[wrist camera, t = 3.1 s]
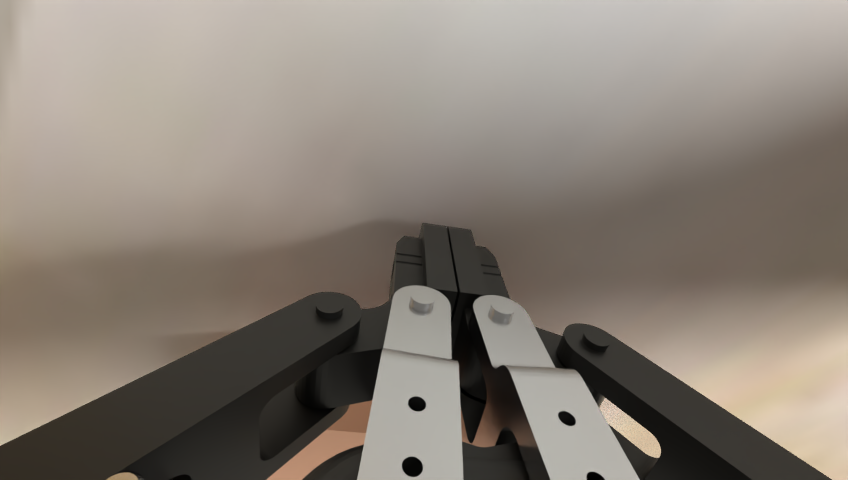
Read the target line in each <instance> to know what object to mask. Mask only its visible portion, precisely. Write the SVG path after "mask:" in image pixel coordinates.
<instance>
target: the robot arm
mask: <svg viewBox="0 0 848 480" xmlns="http://www.w3.org/2000/svg"><path fill="white" fill-rule="evenodd" d="M604 398H607V399H608V400H609V401H610V402H612V403H613V404H614V405H616V406H617V407H618V408H620V409H621V410H622V411H624V412H625V413H626V414H627V415H629V416H630V417H631V418H633V419H634V420H635V421H637V422H638V423H639V424H640V425H642V426H643V427H644V428H646V429H647V430H648V431H650V432H651V433H652V434H653V435H654V436H655V437H656V439H657V440H658V442H659V444H660V447H661V456H660V458H654V457H651V456H648V455H647V454H645V453H644V452H642V451H641V450H640V449H639V448H637V447H636V446H635V445H634V444H632V443H631V442H630V441H629V440H628V439H626V438H625V437H624V436H623V435H621V434H620V433H619V432H618V431H616V430H615V429H614V428H613V427H611V426H610V425H609V424H608V423H607V421H606V419H605V417H604V416H603V414H602V412H601V410H600V409H599V407H600V405H601V403H602V401H603V400H604ZM367 401H372V405H371V410H370V416H369V421H368V426H367V431H366V436H365V441H364V445H360V446H357V447H353V448H350V449H348V450H345V451H343V452H341V453H338V454H336V455H335V456H333V457H331V458H329V459H328V460H326V461H324V462H323V463H321V464H320V465H319V466H317V467H316V468H315V469H313V470H312V471H311V472H310V473H309V474H308V475H306V476H305V477H304V478H303V479H302V480H832V479H830V478H829V477H827V476H826V475H824V474H822V473H821V472H819V471H818V470H816V469H815V468H813V467H812V466H810V465H809V464H807V463H806V462H804V461H803V460H801V459H800V458H798V457H797V456H795V455H793V454H792V453H790V452H789V451H787V450H786V449H784V448H783V447H781V446H780V445H778V444H777V443H775V442H774V441H772V440H771V439H769V438H768V437H766V436H764V435H763V434H761V433H760V432H758V431H757V430H755V429H754V428H752V427H751V426H749V425H748V424H746V423H745V422H743V421H742V420H740V419H738V418H737V417H735V416H734V415H732V414H731V413H729V412H728V411H726V410H725V409H723V408H722V407H720V406H719V405H717V404H716V403H714V402H713V401H711V400H709V399H708V398H706V397H705V396H703V395H702V394H700V393H699V392H697V391H696V390H694V389H693V388H691V387H690V386H688V385H687V384H685V383H684V382H682V381H680V380H679V379H677V378H676V377H674V376H673V375H671V374H670V373H668V372H667V371H665V370H664V369H662V368H661V367H659V366H658V365H656V364H654V363H653V362H651V361H650V360H648V359H647V358H645V357H644V356H642V355H641V354H639V353H638V352H636V351H635V350H633V349H632V348H630V347H629V346H627V345H625V344H624V343H622V342H621V341H619V340H618V339H616V338H615V337H613V336H612V335H610V334H609V333H607V332H605V331H604V330H602V329H599V328H597V327H595V326H591V325H587V324H580V323H579V324H571V325H569V326H568V327H566V329H565V331H564V333H563V335H562V336H560V335H557V334H554V333H551V332H548V331H545V330H542V329H539V328H537V327H535V326H534V325H533V323H532V321H531V319H530V317H529V315H528V313H527V311H526V310H525V309H524V308H523V307H522V306H521V305H519V304H518V303H516V302H515V301H513V300H511V299H510V298H509V295H508V292H507V290H506V287H505V284H504V281H503V278H502V277H501V273H500V270H499V268H498V264H497V261H496V259H495V256H494V255H493V254H492V253H491V252H490V251H489V250H488V249H486V248H485V247H480V246H475V242H474V239H473V235H472V232H471V230H468V229H462V228H455V227H448V226H447V228H446V226H440V225H433V224H426V223H422V226H421V231H420V236H419V238H415V237H407V236H404V237H403V238H402V239H401V240H400V241H399V242H398V243H397V245H396V252H395V258H394V264H393V270H392V276H391V282H390V293H389V301H388V302H387V303H385V304H384V305H382V306H379V307H376V308H371V309H362V310H361V308H360V306H359V304H358V303H357V302H356V301H355V300H354V299H352V298H351V297H349V296H346V295H344V294H340V293H335V292H321V293H316V294H312V295H310V296H307V297H305V298H303V299H301V300H299V301H297V302H295V303H293V304H291V305H289V306H287V307H285V308H283V309H281V310H279V311H277V312H275V313H272V314H270V315H268V316H266V317H264V318H262V319H260V320H258V321H256V322H254V323H252V324H250V325H248V326H246V327H244V328H242V329H240V330H238V331H236V332H233V333H231V334H229V335H227V336H225V337H223V338H221V339H219V340H217V341H215V342H213V343H211V344H209V345H207V346H205V347H203V348H201V349H199V350H196V351H194V352H192V353H190V354H188V355H186V356H184V357H182V358H180V359H178V360H176V361H174V362H172V363H170V364H168V365H166V366H164V367H162V368H159V369H157V370H155V371H153V372H151V373H149V374H147V375H145V376H143V377H141V378H139V379H137V380H135V381H133V382H131V383H129V384H127V385H125V386H122V387H120V388H118V389H116V390H114V391H112V392H110V393H108V394H106V395H104V396H102V397H100V398H98V399H96V400H94V401H92V402H90V403H88V404H86V405H83V406H81V407H79V408H77V409H75V410H73V411H71V412H69V413H67V414H65V415H63V416H61V417H59V418H57V419H55V420H53V421H51V422H49V423H46V424H44V425H42V426H40V427H38V428H36V429H34V430H32V431H30V432H28V433H26V434H24V435H22V436H20V437H18V438H16V439H14V440H12V441H9V442H7V443H5V444H3V445H1V446H0V480H266V479H267V478H269V477H270V476H271V475H272V474H274V473H275V472H276V471H277V470H278V469H280V468H281V467H282V466H283V465H284V464H286V463H287V462H288V461H289V460H290V459H292V458H293V457H294V456H295V455H296V454H298V453H299V452H300V451H301V450H303V449H304V448H305V447H306V446H307V445H309V444H310V443H311V442H312V441H313V440H315V439H316V438H317V437H318V436H319V435H321V434H322V433H323V432H324V431H325V430H327V429H328V428H329V427H330V426H332V425H333V424H334V423H335V422H336V421H338V420H339V419H340V418H341V417H342V416H343V415H344V414H345V413H346V412H347V410H348V408H349V405H351V404H356V403H361V402H367Z"/></svg>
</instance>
